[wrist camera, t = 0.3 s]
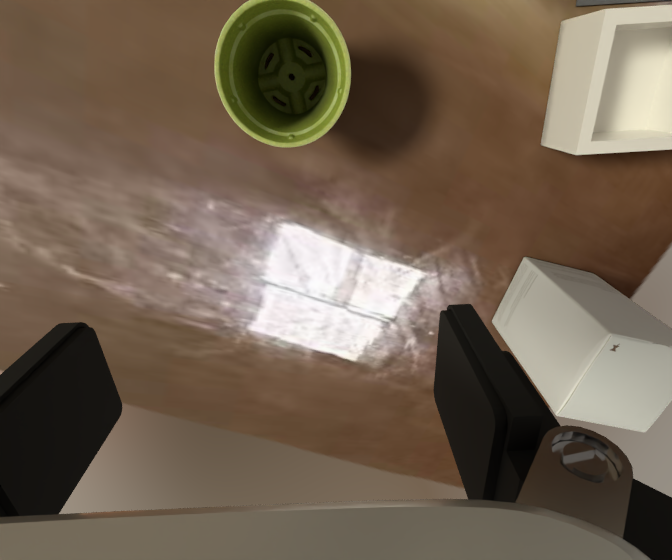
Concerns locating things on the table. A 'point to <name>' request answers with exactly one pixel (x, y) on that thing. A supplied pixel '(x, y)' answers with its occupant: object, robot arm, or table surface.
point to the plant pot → (282, 71)
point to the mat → (608, 2)
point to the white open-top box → (612, 83)
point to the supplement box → (587, 346)
